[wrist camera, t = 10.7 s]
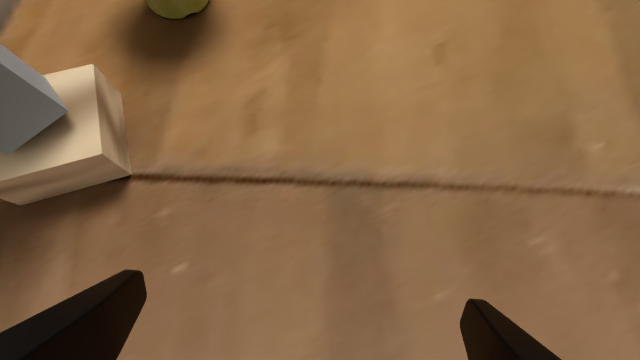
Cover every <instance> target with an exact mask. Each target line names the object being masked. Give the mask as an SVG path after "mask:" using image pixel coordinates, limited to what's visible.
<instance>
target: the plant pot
mask: <svg viewBox="0 0 640 360" xmlns="http://www.w3.org/2000/svg"><path fill="white" fill-rule="evenodd" d="M208 1H209V0H145V2H146V3H147V4H148V6H149V7H150V8H151V9H152V11H154V12H155V13H156V14H158V15H160V16H162V17H165V18H172V19H180V18H184V17H185V16H186V15H188V14H191V13H198V12H200V11H201V10H202V9H203V8H204V7H205V6H206V5H207V3H208Z"/></svg>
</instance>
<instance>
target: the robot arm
mask: <svg viewBox="0 0 640 360" xmlns="http://www.w3.org/2000/svg"><path fill="white" fill-rule="evenodd" d="M146 297H147V292H146V287H145V282H144V276H143V273H142V272H141V271H139V270H123V271H121V272H119V273H117V274H115V275H113V276H111V277H110V278H108V279H106V280H104V281H102V282H100V283H98V284H96V285H94V286H92V287H90V288H88V289H86V290H84V291H82V292H80V293H78V294H76V295H74V296H72V297H70V298H68V299H66V300H64V301H62V302H60V303H58V304H56V305H54V306H52V307H50V308H48V309H46V310H44V311H42V312H40V313H38V314H36V315H34V316H32V317H30V318H29V319H27V320H25V321H23V322H21V323H19V324H17V325H15V326H13V327H11V328H9V329H7V330H5V331H3V332H1V333H0V360H116V359H117V357H118V356H119V354H120V352H121V350H122V348H123V346H124V344H125V342H126V340H127V338H128V336H129V334H130V332H131V330H132V328H133V326H134V324H135V322H136V320H137V318H138V316H139V314H140V312H141V310H142V308H143V306H144V303H145V301H146ZM460 329H461V333H462V337H463V341H464V345H465V348H466V352H467V356H468V360H561V359H560V358H559V357H557V356H556V355H555V354H554V353H552V352H551V351H550V350H548V349H547V348H546V347H545V346H543V345H542V344H541V343H539V342H538V341H537V340H536V339H534V338H533V337H532V336H530V335H529V334H528V333H527V332H525V331H524V330H523V329H521V328H520V327H519V326H518V325H516V324H515V323H514V322H512V321H511V320H510V319H509V318H507V317H506V316H505V315H503V314H502V313H501V312H500V311H498V310H497V309H496V308H494V307H493V306H492V305H491V304H489V303H488V302H487V301H485V300H482V299H469V300H468V301H467V302H466V305H465V308H464V311H463V314H462V317H461V320H460Z"/></svg>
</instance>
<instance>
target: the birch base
mask: <svg viewBox="0 0 640 360" xmlns="http://www.w3.org/2000/svg"><path fill="white" fill-rule="evenodd" d="M42 76H44V77H45V78H46V79H47V81H48V82H49V83H50V85H51V86H52V88H53V89H54V90H55V92H56V93H57V95H58V96H59V98H60V99H61V100H62V102H63V103H64V105H65V106H66V108H67V109H68V110H69V111H68V112H67V113H65V114H64V115H62V116H61V117H60V118H58V119H57V120H56V121H54V122H53V123H51V124H50V125H49V126H47V127H46V128H44V129H43V130H42V131H40V132H39V133H38V134H36V135H35V136H33V137H32V138H31V139H29V140H28V141H27V142H25V143H24V144H22V145H21V146H20V147H18V148H17V149H16V150H14V151H13V152H11V153H10V154H9V155H6V154H4V153H2V152H0V199H2V200H5V201H8V202H11V203H15V204H18V205H21V206H22V205H25V204H29V203H32V202H36V201H39V200H43V199H47V198H50V197H54V196H57V195H61V194H64V193H68V192H71V191H75V190H79V189H82V188H86V187H89V186H93V185H96V184H100V183H104V182H107V181H111V180H114V179H118V178H121V177H125V176H128V175H132V174H131V166H130V159H129V151H128V144H127V136H126V129H125V121H124V114H123V106H122V99H121V93H120V92H119V91H118V90H117V89H116V88H115V87H114V86H113V85H112V84H111V83H110V81H109V80H108V79H107V78H106V77H105V76H104V75H103V74H102V73H101V72H100V71H99V70H98V68H97V67H96V66H95V65H94V64H90V65H86V66H82V67H77V68H73V69H68V70H64V71H60V72H55V73H51V74H47V75H42Z"/></svg>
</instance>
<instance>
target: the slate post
mask: <svg viewBox="0 0 640 360" xmlns="http://www.w3.org/2000/svg"><path fill="white" fill-rule="evenodd" d="M68 111H69V110H68V109H67V108H66V106H65V105H64V103H63V102H62V100H61V99H60V98H59V96H58V95H57V93H56V92H55V90H54V89H53V88H52V86H51V85H50V83H49V82H48V81H47V79H46V78H45V77H44V76H42V75H41V74H40V73H38V72H37V71H36V70H34V69H33V68H32V67H30V66H29V65H28V64H26V63H25V62H24V61H22V60H21V59H20V58H18V57H17V56H16V55H14V54H13V53H12V52H10V51H9V50H8V49H6V48H5V47H3V46H2V45H1V44H0V152H2V153H4V154H6V155H9V154H10V153H11V152H13V151H14V150H16V149H17V148H18V147H20V146H21V145H22V144H24V143H25V142H27V141H28V140H29V139H31V138H32V137H33V136H35V135H36V134H38V133H39V132H40V131H42V130H43V129H44V128H46V127H47V126H49V125H50V124H51V123H53V122H54V121H56V120H57V119H58V118H60V117H61V116H62V115H64V114H65V113H67V112H68Z"/></svg>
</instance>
